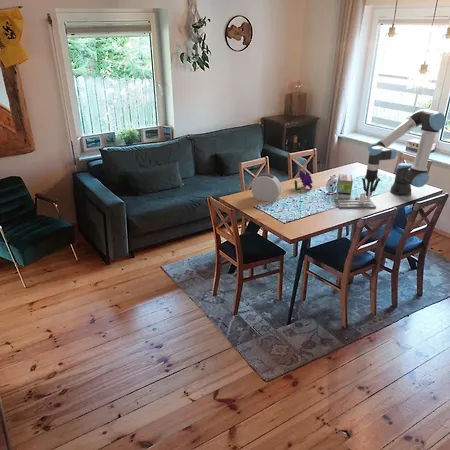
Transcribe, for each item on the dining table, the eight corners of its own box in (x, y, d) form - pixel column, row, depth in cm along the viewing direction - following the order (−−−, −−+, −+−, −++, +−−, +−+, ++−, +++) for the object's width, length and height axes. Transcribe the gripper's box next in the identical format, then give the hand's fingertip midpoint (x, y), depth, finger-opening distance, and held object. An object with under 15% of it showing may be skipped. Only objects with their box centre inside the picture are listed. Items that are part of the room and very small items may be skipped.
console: (369, 200, 315) (370, 196, 313) (375, 208, 301) (376, 204, 300) (334, 200, 315) (335, 196, 314) (339, 208, 301) (339, 204, 300)
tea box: (350, 199, 317) (353, 181, 310) (336, 198, 319) (339, 180, 312) (349, 192, 330) (351, 174, 324) (336, 191, 332) (338, 173, 325)
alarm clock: (281, 199, 318) (282, 174, 309) (277, 203, 312) (279, 177, 303) (254, 195, 326) (255, 170, 317) (251, 198, 320) (251, 173, 311)
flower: (305, 199, 331) (316, 188, 335) (299, 185, 322) (311, 174, 325) (292, 193, 342) (303, 183, 346) (286, 179, 333) (298, 169, 336)
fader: (363, 201, 309) (364, 192, 306) (364, 203, 306) (365, 194, 303) (359, 201, 309) (360, 192, 306) (360, 203, 306) (361, 194, 303)
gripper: (380, 167, 299) (375, 198, 310) (361, 167, 299) (357, 198, 310) (383, 170, 293) (378, 202, 303) (364, 170, 293) (360, 202, 303)
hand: (367, 200), depth 306 cm, fingers closed
